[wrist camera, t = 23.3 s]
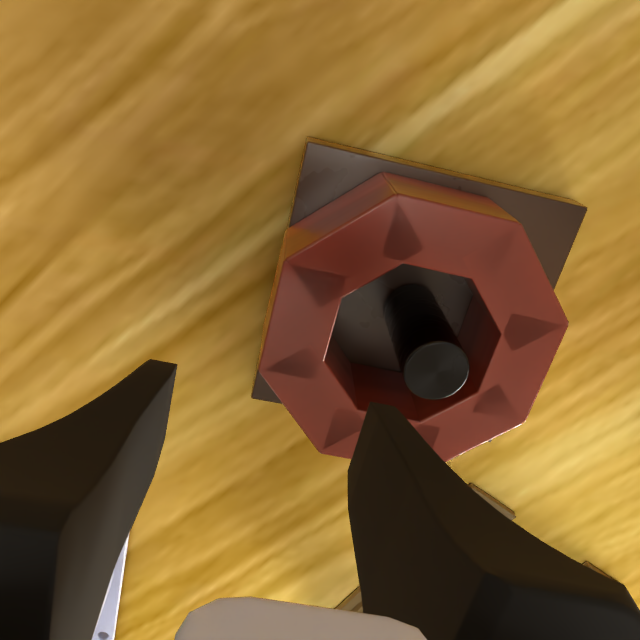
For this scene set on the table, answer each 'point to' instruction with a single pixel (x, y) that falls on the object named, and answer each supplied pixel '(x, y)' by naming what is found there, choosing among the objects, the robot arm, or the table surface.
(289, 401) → the ring
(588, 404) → the table surface
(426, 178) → the post
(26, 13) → the table surface
